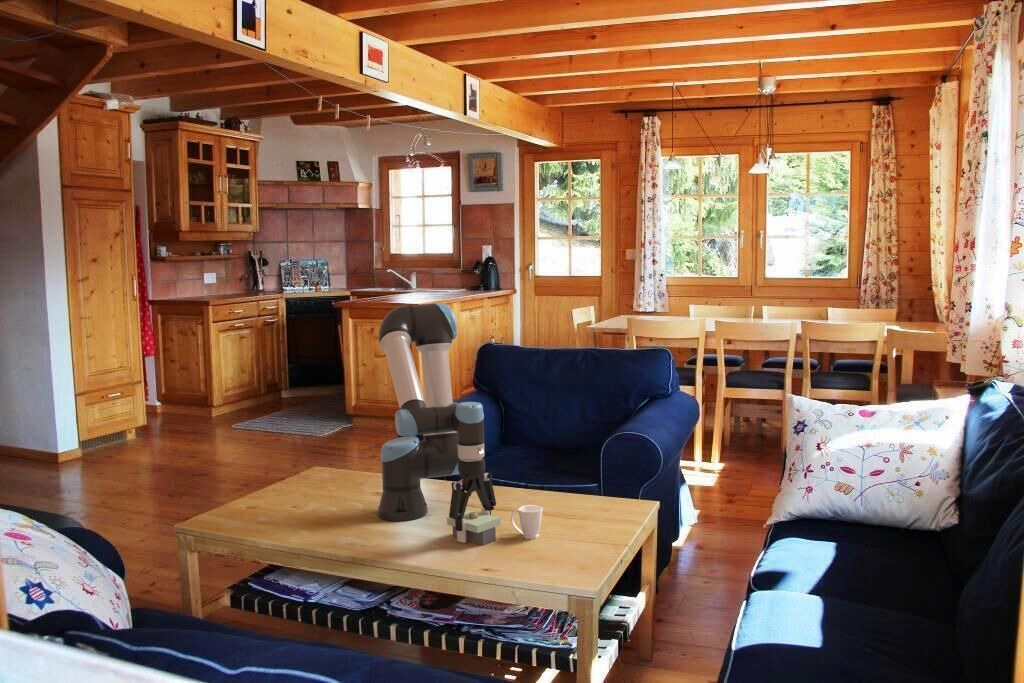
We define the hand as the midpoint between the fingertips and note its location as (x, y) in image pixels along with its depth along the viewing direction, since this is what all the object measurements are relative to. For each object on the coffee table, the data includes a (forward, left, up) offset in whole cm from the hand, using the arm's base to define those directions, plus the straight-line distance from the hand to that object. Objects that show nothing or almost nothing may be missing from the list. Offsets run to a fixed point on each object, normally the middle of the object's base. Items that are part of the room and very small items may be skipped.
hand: (474, 536), depth 244 cm
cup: (+10, +11, -1) cm, 15 cm away
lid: (0, 0, +4) cm, 4 cm away
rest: (0, 0, 0) cm, 0 cm away
